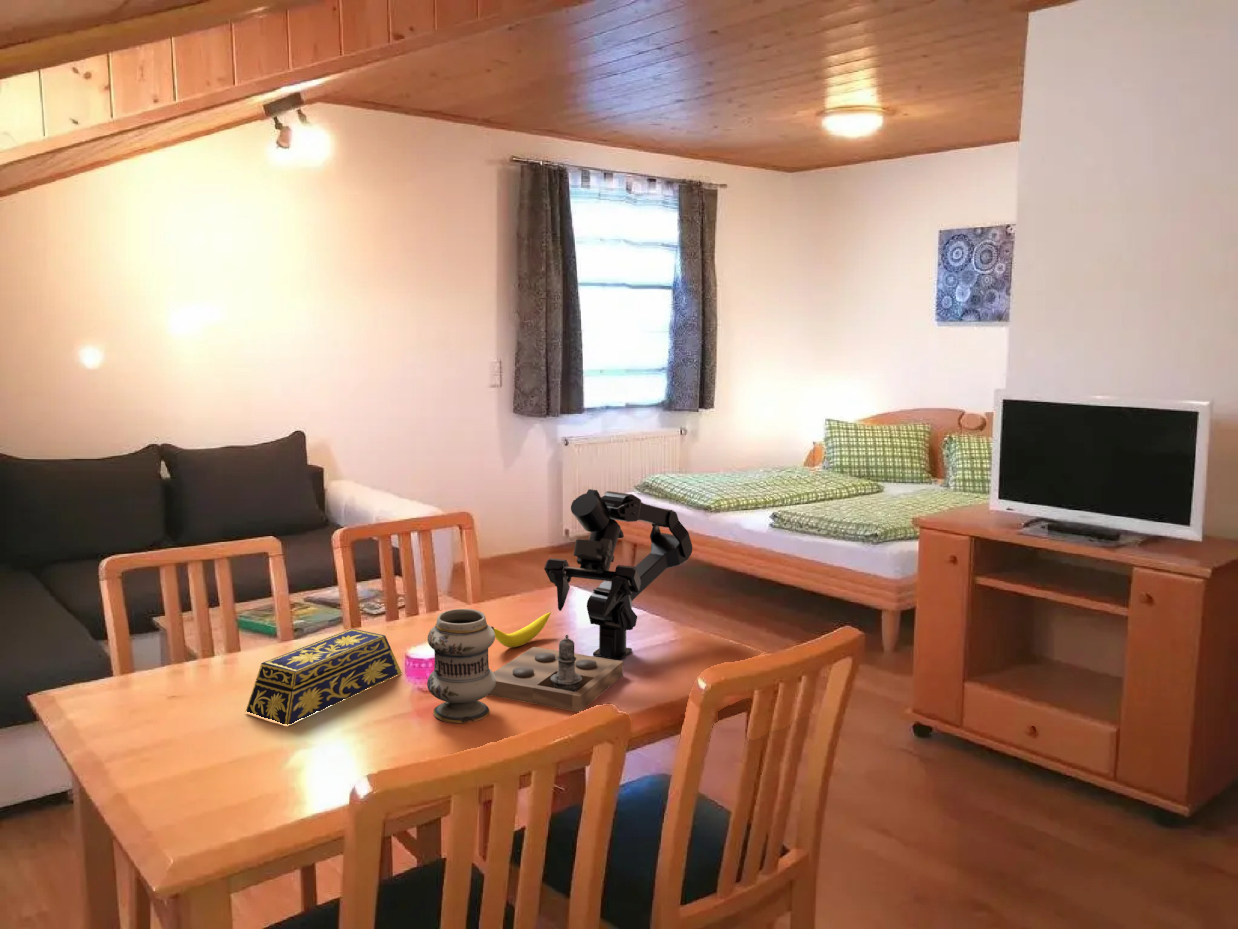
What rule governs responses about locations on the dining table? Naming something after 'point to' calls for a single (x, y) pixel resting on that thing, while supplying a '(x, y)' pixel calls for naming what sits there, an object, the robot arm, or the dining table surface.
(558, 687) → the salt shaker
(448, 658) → the apothecary jar
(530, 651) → the brown peg board
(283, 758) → the dining table surface
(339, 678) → the decorative box
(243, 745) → the dining table surface
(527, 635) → the banana
